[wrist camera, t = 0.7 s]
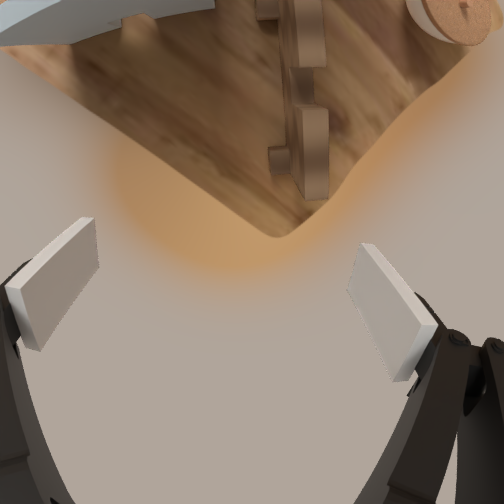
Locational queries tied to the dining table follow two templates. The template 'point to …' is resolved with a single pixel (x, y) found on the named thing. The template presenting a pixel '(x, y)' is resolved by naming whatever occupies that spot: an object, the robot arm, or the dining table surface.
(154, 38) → the dining table surface
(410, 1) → the lidded jar
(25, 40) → the slotted plate
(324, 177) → the walnut board
